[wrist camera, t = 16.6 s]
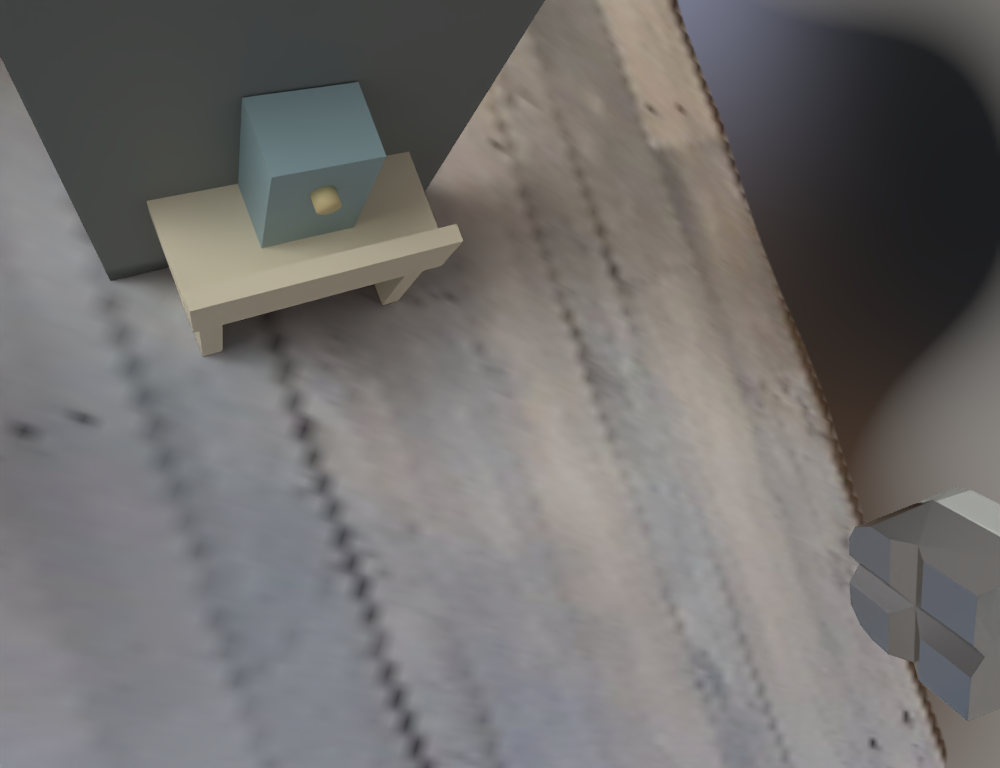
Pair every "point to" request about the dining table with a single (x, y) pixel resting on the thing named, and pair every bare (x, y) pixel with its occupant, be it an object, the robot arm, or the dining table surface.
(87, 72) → the wall board
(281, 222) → the small cabinet
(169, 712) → the dining table surface
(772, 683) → the dining table surface
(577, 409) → the dining table surface
